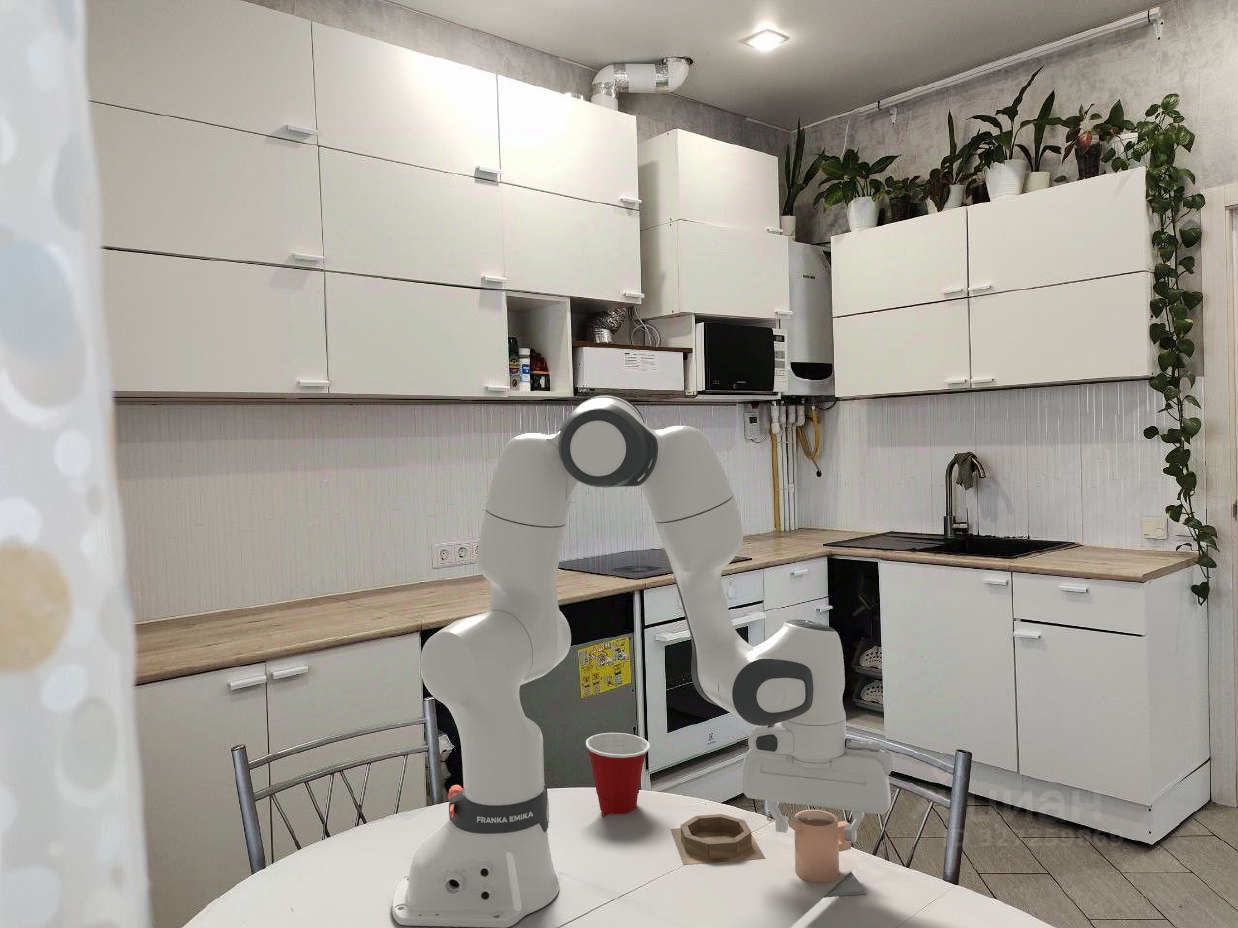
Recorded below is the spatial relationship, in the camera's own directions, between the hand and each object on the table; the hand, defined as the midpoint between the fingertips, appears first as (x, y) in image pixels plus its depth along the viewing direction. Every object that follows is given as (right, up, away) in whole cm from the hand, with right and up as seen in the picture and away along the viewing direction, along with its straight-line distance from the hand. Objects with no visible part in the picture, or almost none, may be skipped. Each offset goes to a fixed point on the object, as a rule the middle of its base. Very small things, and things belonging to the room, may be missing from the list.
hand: (815, 835), depth 122 cm
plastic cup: (-27, -7, +24) cm, 37 cm away
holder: (-13, -6, +10) cm, 17 cm away
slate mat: (0, -6, 0) cm, 6 cm away
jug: (0, -6, 0) cm, 6 cm away
